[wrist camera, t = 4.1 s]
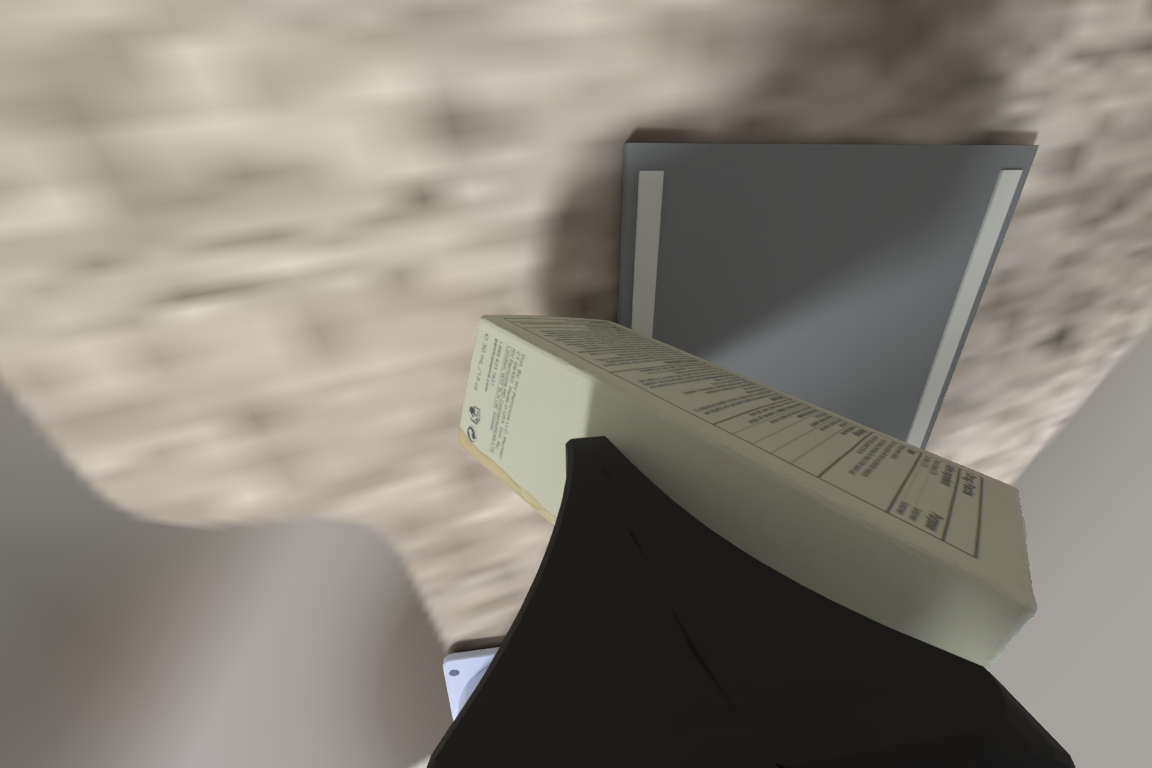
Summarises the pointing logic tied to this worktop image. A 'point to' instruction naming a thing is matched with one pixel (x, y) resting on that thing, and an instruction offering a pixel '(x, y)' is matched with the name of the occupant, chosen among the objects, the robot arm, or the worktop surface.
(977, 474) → the skincare box
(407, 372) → the worktop surface
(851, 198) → the mat
